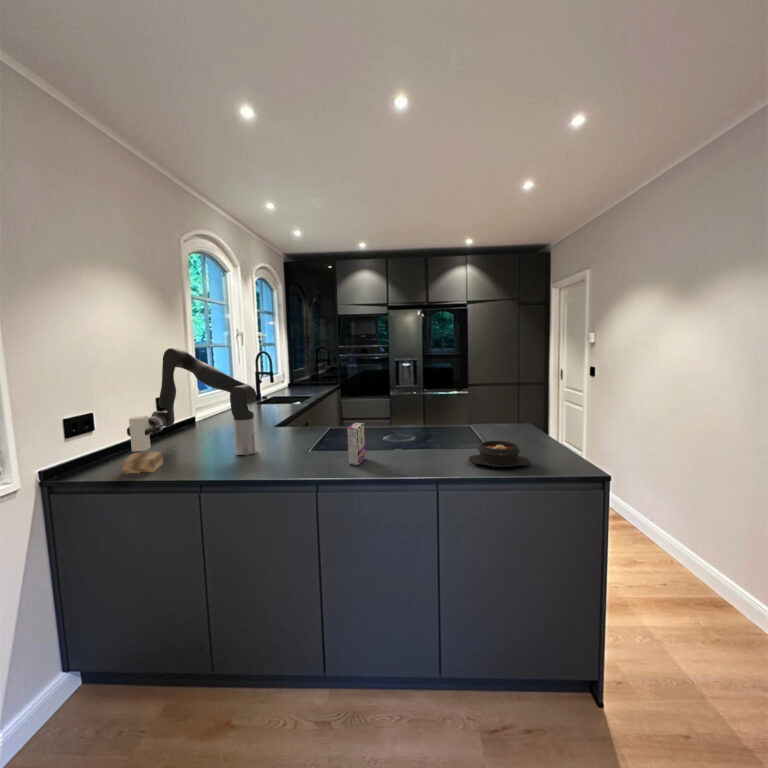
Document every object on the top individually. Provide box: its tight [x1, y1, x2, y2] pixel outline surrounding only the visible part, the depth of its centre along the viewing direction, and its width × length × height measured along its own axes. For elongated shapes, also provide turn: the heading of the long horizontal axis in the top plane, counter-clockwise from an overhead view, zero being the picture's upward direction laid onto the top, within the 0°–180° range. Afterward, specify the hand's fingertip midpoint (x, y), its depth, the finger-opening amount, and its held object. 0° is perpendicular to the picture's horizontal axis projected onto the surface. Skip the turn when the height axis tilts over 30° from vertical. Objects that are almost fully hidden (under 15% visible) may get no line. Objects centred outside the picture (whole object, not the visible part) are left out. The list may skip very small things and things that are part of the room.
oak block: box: [120, 451, 164, 475], centre depth 174 cm, size 12×12×6 cm
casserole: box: [467, 440, 531, 468], centre depth 168 cm, size 25×19×8 cm
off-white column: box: [128, 415, 151, 452], centre depth 172 cm, size 6×6×14 cm
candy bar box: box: [346, 422, 366, 464], centre depth 176 cm, size 11×5×16 cm, turn 168°
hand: (137, 433), depth 170 cm, fingers closed on off-white column, 5 cm apart
